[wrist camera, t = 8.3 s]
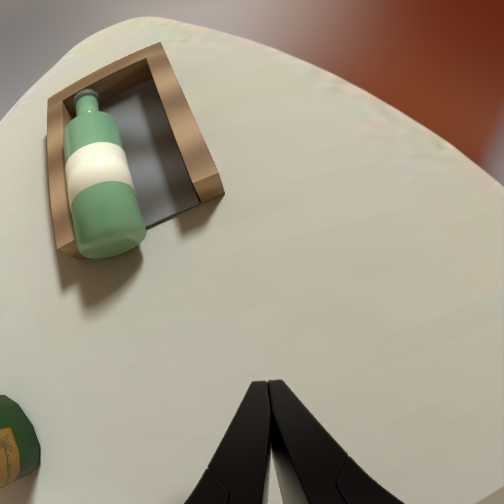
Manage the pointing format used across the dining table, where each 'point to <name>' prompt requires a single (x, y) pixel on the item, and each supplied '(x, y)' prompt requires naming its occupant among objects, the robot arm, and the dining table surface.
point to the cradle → (137, 141)
